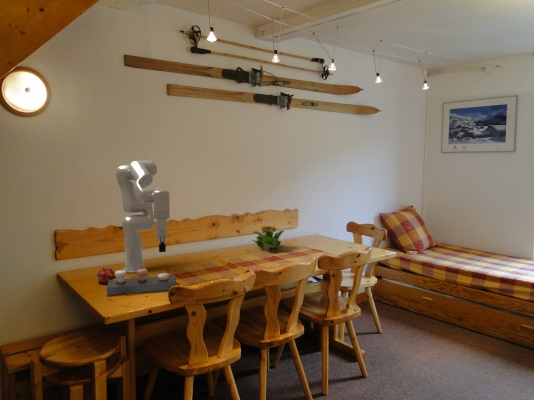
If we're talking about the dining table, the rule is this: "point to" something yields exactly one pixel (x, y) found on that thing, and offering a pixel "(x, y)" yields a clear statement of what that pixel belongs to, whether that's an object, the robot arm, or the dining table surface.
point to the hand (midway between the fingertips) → (162, 251)
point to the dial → (142, 274)
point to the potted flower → (269, 239)
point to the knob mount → (140, 285)
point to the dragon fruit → (105, 275)
